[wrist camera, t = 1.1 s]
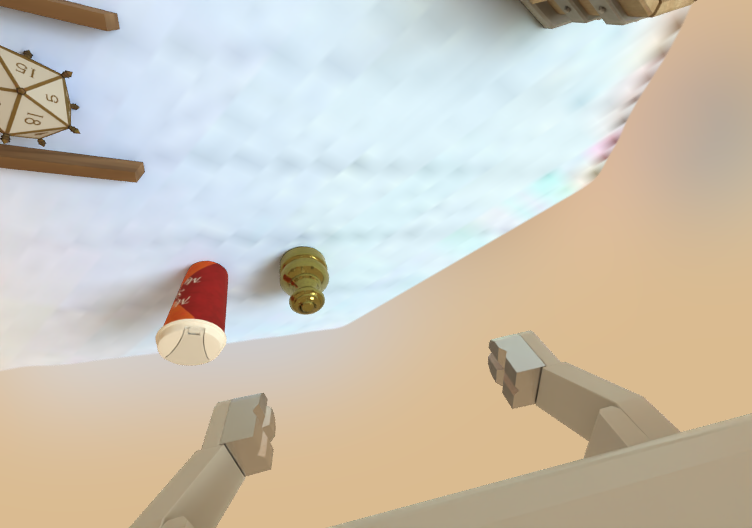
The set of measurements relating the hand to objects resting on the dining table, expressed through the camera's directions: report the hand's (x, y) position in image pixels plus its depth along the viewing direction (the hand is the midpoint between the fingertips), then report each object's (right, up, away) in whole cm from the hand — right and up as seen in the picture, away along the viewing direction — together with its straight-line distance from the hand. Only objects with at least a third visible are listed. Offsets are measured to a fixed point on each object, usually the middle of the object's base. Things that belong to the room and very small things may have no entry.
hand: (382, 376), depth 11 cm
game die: (-33, +22, +20) cm, 44 cm away
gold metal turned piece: (-12, +4, +41) cm, 43 cm away
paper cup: (-26, +2, +38) cm, 46 cm away
